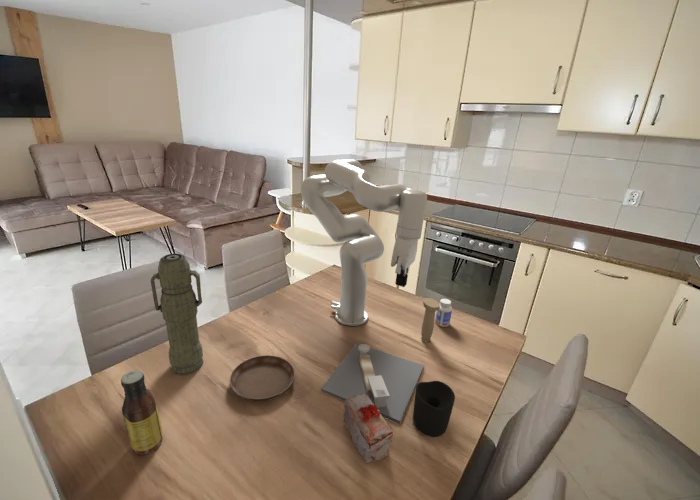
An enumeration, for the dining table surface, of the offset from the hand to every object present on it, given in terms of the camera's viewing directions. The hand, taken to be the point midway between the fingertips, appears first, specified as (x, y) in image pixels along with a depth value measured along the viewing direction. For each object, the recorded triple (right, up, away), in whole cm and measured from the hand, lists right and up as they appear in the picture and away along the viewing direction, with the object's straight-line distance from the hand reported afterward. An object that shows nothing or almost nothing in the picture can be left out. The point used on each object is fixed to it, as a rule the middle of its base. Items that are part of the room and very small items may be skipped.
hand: (400, 284), depth 111 cm
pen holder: (+4, -33, -23) cm, 41 cm away
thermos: (-65, -23, -8) cm, 69 cm away
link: (-11, -26, -10) cm, 30 cm away
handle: (+10, -21, +11) cm, 25 cm away
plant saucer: (-41, -27, -13) cm, 51 cm away
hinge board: (-9, -27, -9) cm, 30 cm away
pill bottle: (+19, -17, +21) cm, 33 cm away
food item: (-13, -35, -29) cm, 47 cm away
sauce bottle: (-62, -33, -33) cm, 78 cm away
